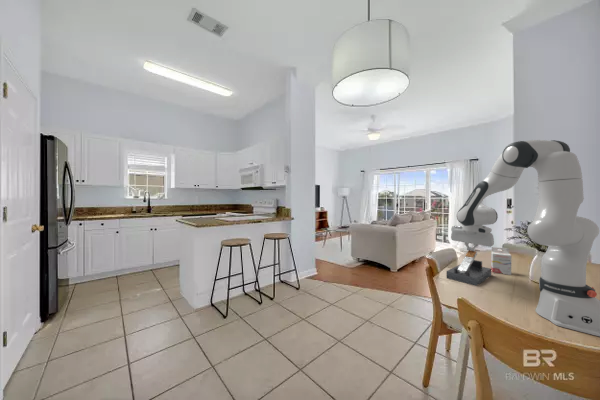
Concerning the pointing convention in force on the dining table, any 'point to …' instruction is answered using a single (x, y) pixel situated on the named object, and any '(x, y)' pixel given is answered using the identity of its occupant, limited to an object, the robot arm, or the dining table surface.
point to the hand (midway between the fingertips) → (470, 250)
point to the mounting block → (470, 274)
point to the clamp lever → (467, 262)
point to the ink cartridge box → (501, 261)
